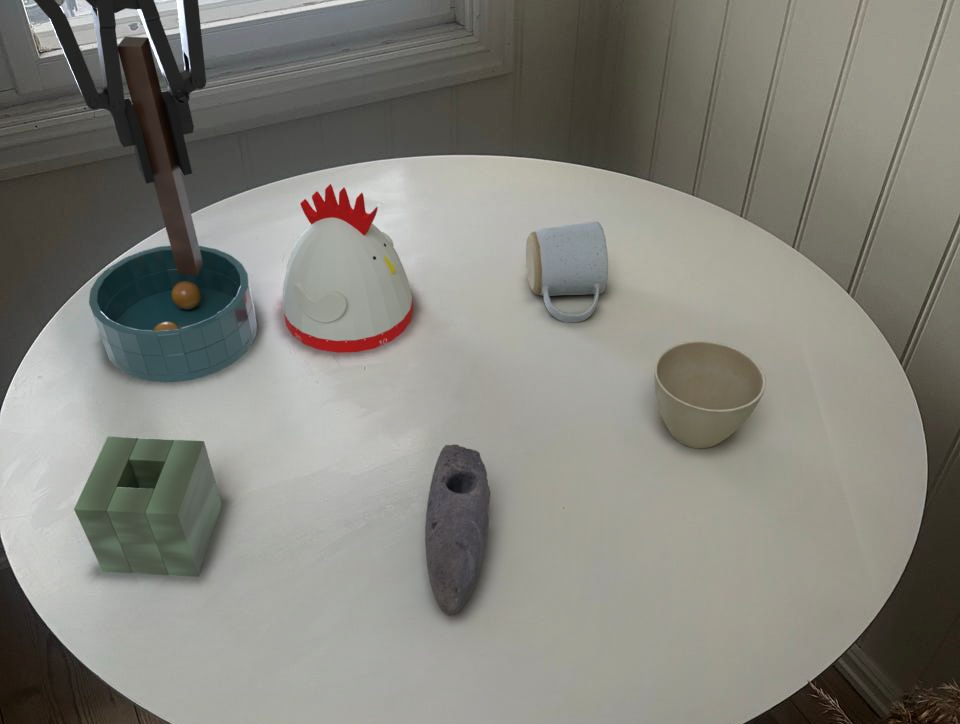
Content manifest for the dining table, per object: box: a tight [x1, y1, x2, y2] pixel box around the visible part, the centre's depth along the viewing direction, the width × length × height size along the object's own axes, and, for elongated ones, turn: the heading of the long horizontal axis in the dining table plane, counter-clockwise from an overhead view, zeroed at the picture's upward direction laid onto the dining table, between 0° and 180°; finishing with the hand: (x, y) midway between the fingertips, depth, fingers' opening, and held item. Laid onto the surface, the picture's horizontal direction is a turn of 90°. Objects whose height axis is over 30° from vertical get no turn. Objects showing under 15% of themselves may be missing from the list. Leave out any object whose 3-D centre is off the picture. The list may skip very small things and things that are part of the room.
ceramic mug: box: [525, 221, 609, 323], centre depth 101 cm, size 11×8×8 cm
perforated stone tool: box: [424, 444, 491, 617], centre depth 75 cm, size 15×5×7 cm, turn 175°
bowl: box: [88, 245, 258, 383], centre depth 96 cm, size 16×16×6 cm
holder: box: [73, 436, 223, 578], centre depth 76 cm, size 8×8×8 cm
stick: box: [117, 36, 203, 275], centre depth 84 cm, size 2×2×22 cm
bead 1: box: [153, 321, 180, 331], centre depth 94 cm, size 3×3×3 cm
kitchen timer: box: [281, 183, 414, 354], centre depth 95 cm, size 14×14×15 cm
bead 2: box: [172, 281, 201, 310], centre depth 98 cm, size 3×3×3 cm
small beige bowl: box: [653, 340, 767, 449], centre depth 86 cm, size 10×10×7 cm
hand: (165, 171), depth 84 cm, fingers closed on stick, 3 cm apart
